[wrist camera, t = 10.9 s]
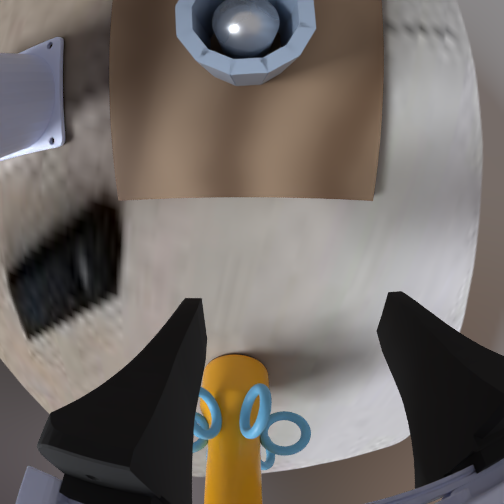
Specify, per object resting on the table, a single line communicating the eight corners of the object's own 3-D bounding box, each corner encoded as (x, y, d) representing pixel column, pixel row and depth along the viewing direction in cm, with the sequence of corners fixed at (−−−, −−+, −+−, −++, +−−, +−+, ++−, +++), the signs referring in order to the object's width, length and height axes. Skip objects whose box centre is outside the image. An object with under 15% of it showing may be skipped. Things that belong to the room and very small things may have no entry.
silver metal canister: (222, 66, 14) (211, 50, 9) (222, 25, 13) (212, -5, 8) (269, 66, 14) (279, 50, 9) (270, 25, 13) (279, -5, 8)
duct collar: (232, 102, 15) (225, 99, 10) (173, 25, 12) (138, -9, 7) (309, 58, 14) (340, 36, 8) (249, -19, 11) (250, -69, 6)
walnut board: (124, 195, 18) (118, 200, 17) (125, -48, 10) (120, -54, 9) (367, 196, 18) (372, 200, 18) (370, -48, 10) (375, -53, 9)
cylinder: (150, 354, 25) (111, 506, 12) (245, 308, 23) (246, 509, 9) (228, 415, 30) (225, 537, 17) (313, 384, 27) (337, 523, 14)
